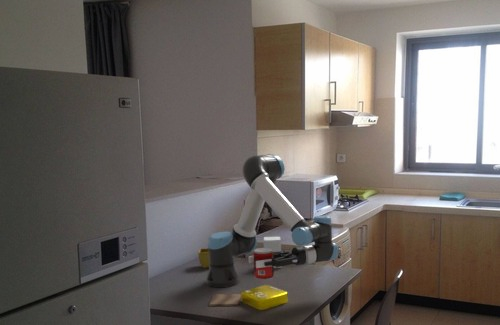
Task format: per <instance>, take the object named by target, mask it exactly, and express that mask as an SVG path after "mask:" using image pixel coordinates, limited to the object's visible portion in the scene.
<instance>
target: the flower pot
mask: <svg viewBox="0 0 500 325" xmlns="http://www.w3.org/2000/svg"><path fill="white" fill-rule="evenodd" d="M197 253H198V261H199V264H200V266H201V267H202V268H203V269H207V268H208V269H209V267H210V266H209V248H208V247H207V248H200V249H199V250H198V252H197Z"/></svg>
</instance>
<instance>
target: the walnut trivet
mask: <svg viewBox="0 0 500 325" xmlns="http://www.w3.org/2000/svg"><path fill="white" fill-rule="evenodd" d="M211 297H212V298H211V299H210V301H209V304H208V306H209V307H222V306H224V307H225V306H227V307H229V306H230V307H236V306H237V307H239V304H240V301H241V293H231V294H230V293H219V294H217V293H216V294H215V293H214V294H213V295H212V296H211Z"/></svg>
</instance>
